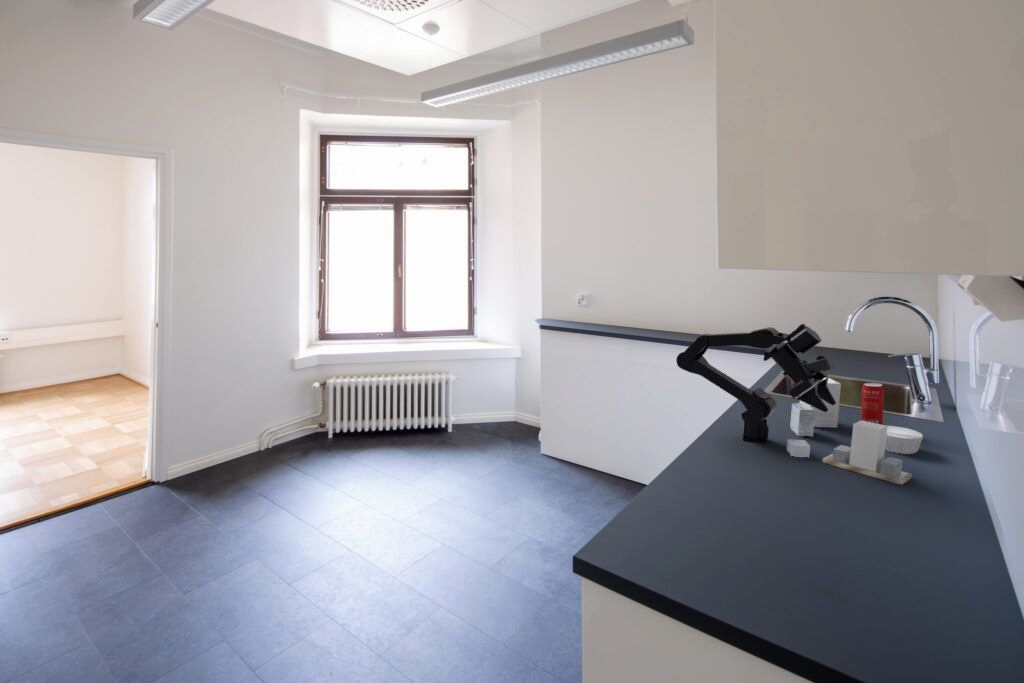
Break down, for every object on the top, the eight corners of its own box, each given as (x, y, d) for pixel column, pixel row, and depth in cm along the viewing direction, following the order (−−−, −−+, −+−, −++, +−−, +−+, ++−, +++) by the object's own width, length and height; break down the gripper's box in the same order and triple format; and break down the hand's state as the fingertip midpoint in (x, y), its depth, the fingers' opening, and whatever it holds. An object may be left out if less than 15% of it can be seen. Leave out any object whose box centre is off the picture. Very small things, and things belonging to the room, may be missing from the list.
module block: (849, 464, 136) (853, 423, 134) (856, 459, 139) (861, 420, 137) (875, 471, 131) (880, 429, 130) (882, 466, 134) (887, 425, 133)
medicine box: (813, 437, 160) (815, 410, 159) (797, 436, 161) (800, 409, 160) (804, 429, 168) (806, 403, 167) (789, 428, 169) (791, 402, 167)
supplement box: (825, 419, 178) (829, 377, 176) (837, 428, 169) (842, 383, 167) (797, 418, 179) (800, 376, 177) (808, 427, 170) (812, 382, 168)
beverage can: (886, 432, 165) (891, 386, 163) (865, 431, 165) (870, 386, 163) (873, 426, 171) (878, 381, 169) (853, 426, 171) (858, 381, 169)
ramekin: (890, 455, 145) (892, 437, 145) (864, 442, 156) (866, 425, 156) (931, 456, 145) (933, 438, 144) (902, 442, 156) (904, 425, 155)
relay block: (791, 457, 145) (792, 445, 144) (786, 450, 150) (787, 439, 149) (809, 458, 144) (810, 446, 143) (803, 452, 148) (804, 440, 148)
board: (822, 462, 140) (822, 458, 140) (833, 456, 145) (833, 453, 144) (901, 485, 126) (902, 481, 126) (911, 477, 130) (912, 474, 130)
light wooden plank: (825, 458, 140) (825, 458, 140) (835, 454, 144) (835, 453, 144) (900, 479, 127) (900, 479, 127) (908, 473, 130) (909, 473, 130)
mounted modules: (832, 459, 139) (833, 448, 139) (840, 455, 142) (841, 444, 142) (894, 476, 128) (895, 465, 128) (901, 471, 131) (902, 460, 131)
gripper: (805, 350, 138) (849, 398, 132) (822, 342, 152) (863, 385, 146) (771, 374, 145) (812, 421, 139) (791, 365, 158) (829, 407, 152)
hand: (830, 407), depth 144 cm, fingers open, 9 cm apart
